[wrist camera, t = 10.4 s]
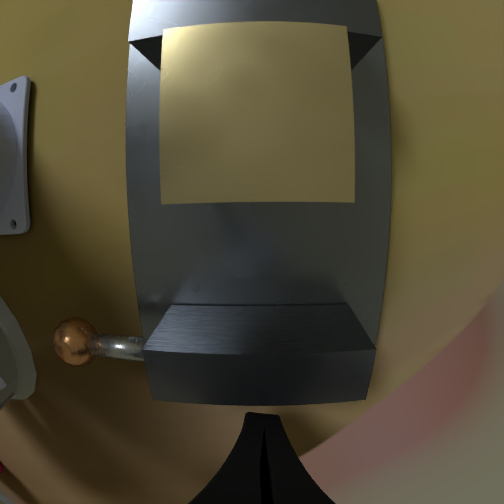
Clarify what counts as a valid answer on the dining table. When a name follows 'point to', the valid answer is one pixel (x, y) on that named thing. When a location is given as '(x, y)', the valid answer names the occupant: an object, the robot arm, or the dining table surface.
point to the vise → (259, 213)
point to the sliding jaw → (239, 354)
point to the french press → (14, 359)
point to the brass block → (256, 113)
